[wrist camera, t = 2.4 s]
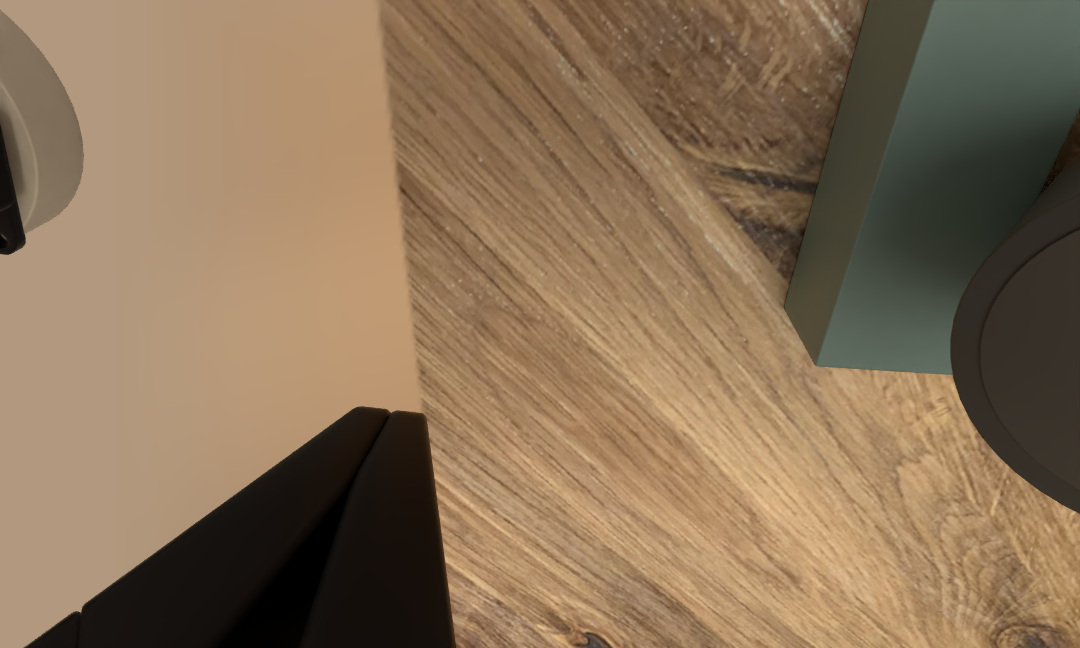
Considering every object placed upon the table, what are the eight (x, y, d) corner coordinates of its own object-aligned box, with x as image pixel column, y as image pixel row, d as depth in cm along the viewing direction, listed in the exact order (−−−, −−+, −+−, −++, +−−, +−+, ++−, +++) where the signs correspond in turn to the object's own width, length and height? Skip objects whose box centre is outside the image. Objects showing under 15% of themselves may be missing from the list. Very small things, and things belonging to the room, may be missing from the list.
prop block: (782, 308, 21) (815, 366, 18) (877, -36, 16) (944, -30, 13) (904, 315, 21) (955, 375, 18) (1039, -28, 16) (1142, -20, 13)
